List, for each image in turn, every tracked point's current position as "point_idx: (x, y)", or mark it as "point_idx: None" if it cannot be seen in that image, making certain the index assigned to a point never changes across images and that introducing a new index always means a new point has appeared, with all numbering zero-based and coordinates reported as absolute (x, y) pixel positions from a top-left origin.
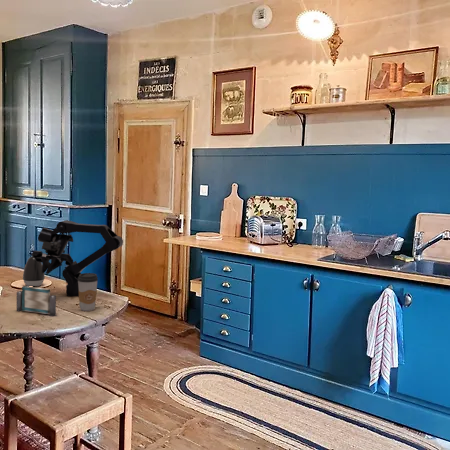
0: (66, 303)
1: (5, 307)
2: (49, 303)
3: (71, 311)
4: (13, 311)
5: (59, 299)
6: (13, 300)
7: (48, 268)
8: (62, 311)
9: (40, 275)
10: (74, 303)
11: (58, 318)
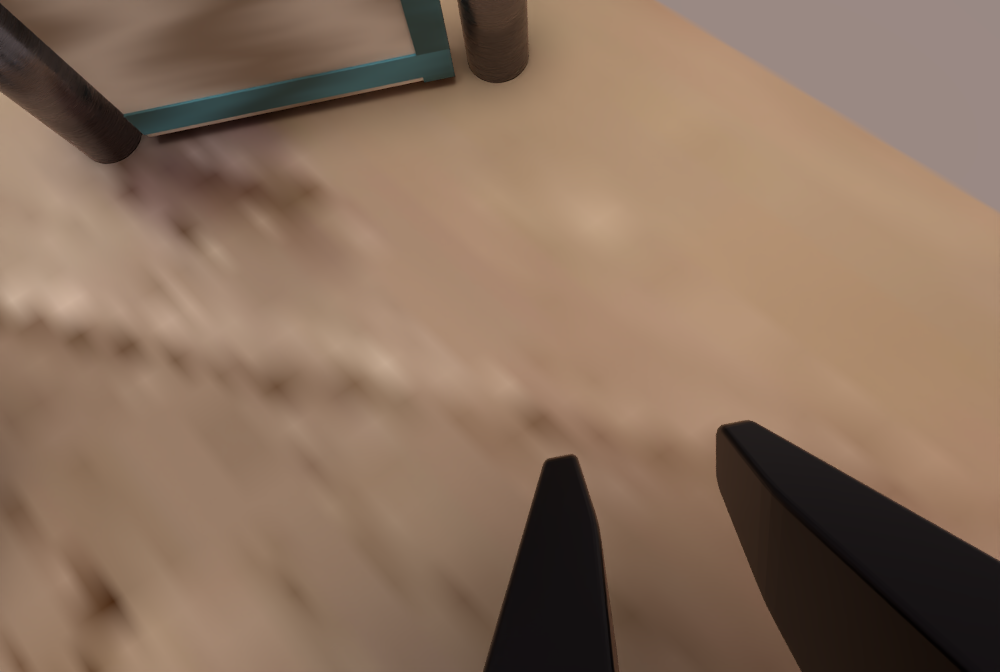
0: (252, 552)
1: (712, 46)
2: (71, 57)
3: (11, 331)
4: (528, 10)
5: (463, 657)
6: (904, 266)
7: (556, 578)
8: (98, 277)
9: None
10: (161, 615)
11: (4, 101)
